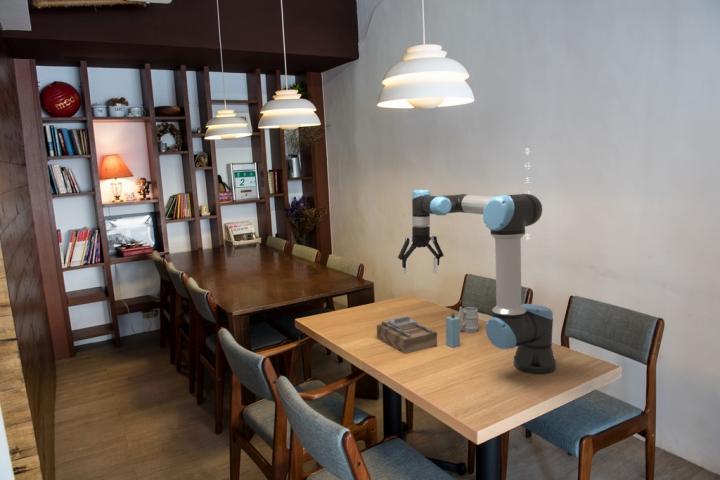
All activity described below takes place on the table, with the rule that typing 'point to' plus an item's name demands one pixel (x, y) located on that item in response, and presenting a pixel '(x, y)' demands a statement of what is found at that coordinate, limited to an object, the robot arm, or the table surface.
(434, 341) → the socket box
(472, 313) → the mug
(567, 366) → the table surface
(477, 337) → the table surface
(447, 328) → the blue square bottle
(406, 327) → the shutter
